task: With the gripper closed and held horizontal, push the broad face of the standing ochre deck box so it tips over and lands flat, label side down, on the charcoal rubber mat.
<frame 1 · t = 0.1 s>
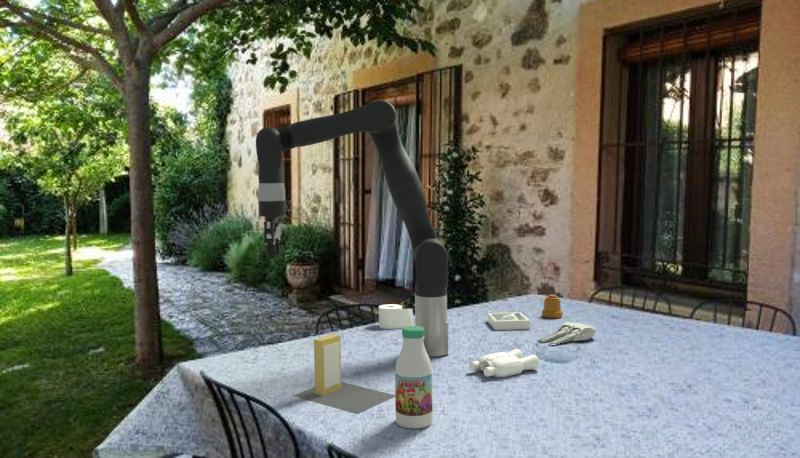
hand: (273, 256, 177), 29 cm above the table, fingers open, 8 cm apart
whipped cream: (508, 326, 215), resting in holder
holder: (508, 325, 215), on the table
ornamental finial: (552, 317, 228), on the table
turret: (567, 341, 195), on the table
binoculars: (503, 373, 163), on the table
milk bottle: (414, 423, 129), on the table
deck box: (328, 391, 148), resting on mat
toilet paper: (395, 327, 215), on the table
mat: (344, 397, 145), on the table
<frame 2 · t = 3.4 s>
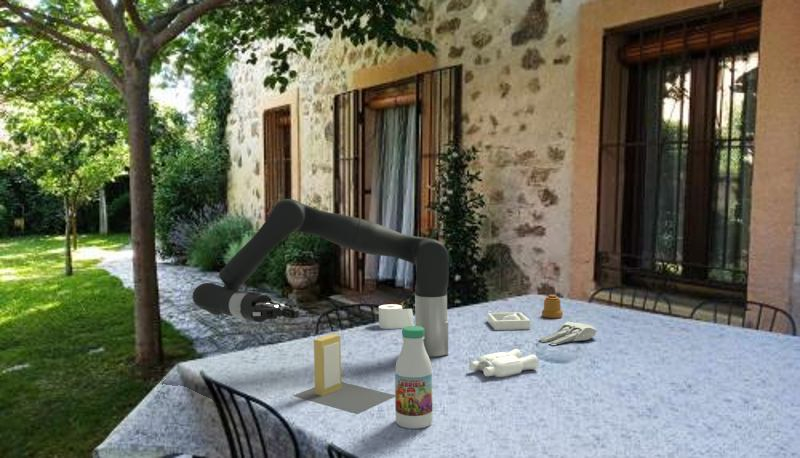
hand: (296, 314, 153), 18 cm above the table, fingers closed
nothing on the table moved.
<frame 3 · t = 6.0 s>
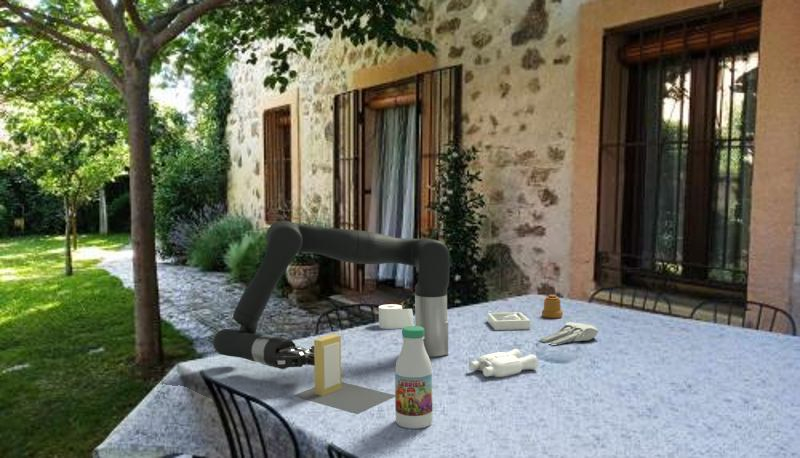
hand: (322, 361, 148), 7 cm above the table, fingers closed
deck box: (328, 391, 148), resting on mat, touching gripper
everything else where it was.
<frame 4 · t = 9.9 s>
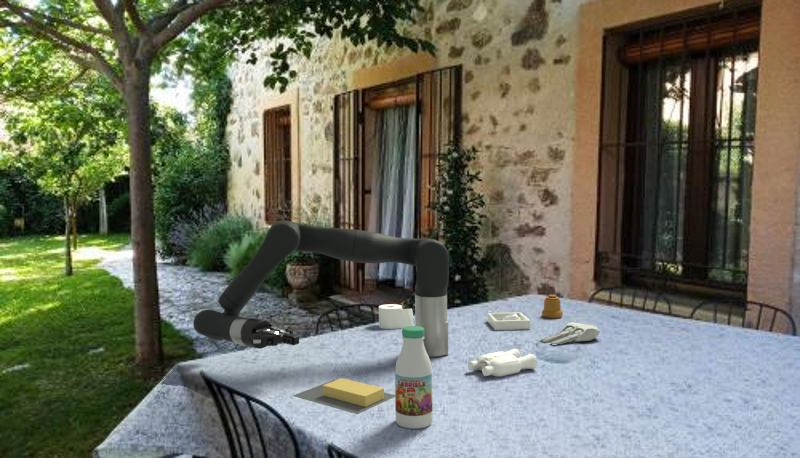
hand: (296, 340, 153), 11 cm above the table, fingers closed
deck box: (332, 386, 147), point 2 cm above the table, tilted 90°, touching mat
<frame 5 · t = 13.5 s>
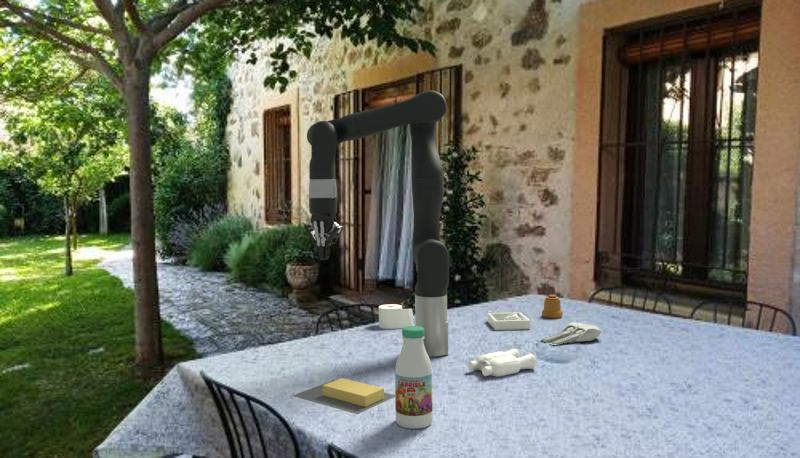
hand: (324, 259, 170), 29 cm above the table, fingers closed
at the end: deck box tilted 90°; deck box inside the target area on the mat (4.0 cm from its centre), point 1.7 cm above the mat's base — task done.
